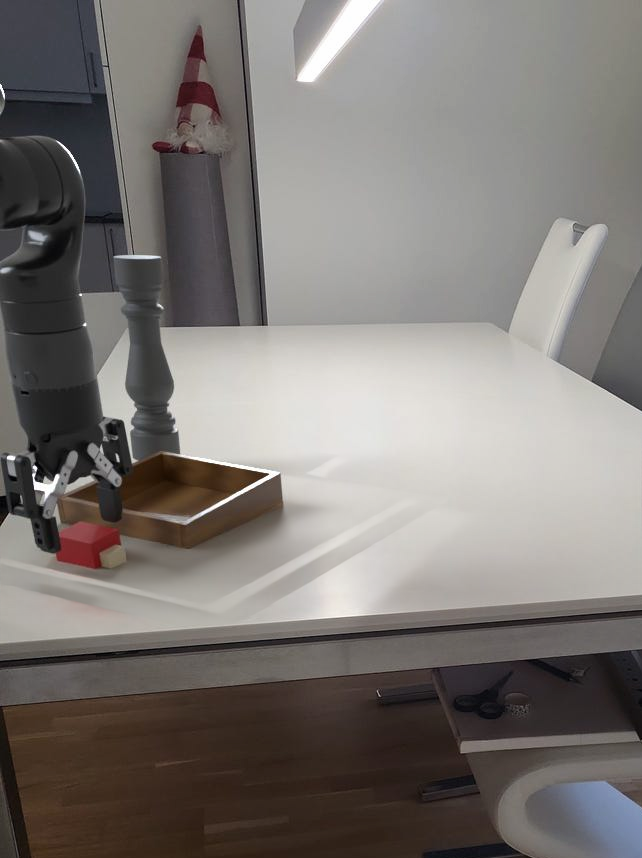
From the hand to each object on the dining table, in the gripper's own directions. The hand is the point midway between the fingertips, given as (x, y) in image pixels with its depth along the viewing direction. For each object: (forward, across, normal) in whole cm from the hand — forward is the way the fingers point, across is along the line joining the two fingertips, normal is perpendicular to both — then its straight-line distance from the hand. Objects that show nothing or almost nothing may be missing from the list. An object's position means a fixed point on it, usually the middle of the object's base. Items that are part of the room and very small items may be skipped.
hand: (82, 535), depth 105 cm
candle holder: (+5, -32, -18) cm, 37 cm away
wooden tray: (+5, -16, -2) cm, 17 cm away
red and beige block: (+5, 0, 0) cm, 5 cm away
